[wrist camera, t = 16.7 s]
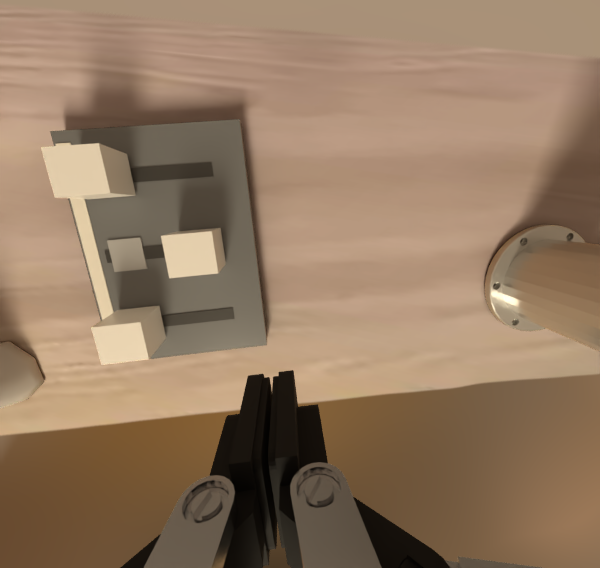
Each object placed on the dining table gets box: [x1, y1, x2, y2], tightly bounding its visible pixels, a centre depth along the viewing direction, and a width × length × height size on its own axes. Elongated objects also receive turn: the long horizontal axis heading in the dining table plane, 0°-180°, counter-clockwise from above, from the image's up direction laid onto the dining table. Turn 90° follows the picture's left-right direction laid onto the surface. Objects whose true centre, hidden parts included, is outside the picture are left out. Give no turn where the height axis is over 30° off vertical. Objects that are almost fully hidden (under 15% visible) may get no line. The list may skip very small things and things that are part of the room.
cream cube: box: [91, 306, 166, 365], centre depth 28 cm, size 4×4×4 cm
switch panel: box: [50, 119, 267, 359], centre depth 30 cm, size 16×22×2 cm
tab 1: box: [41, 143, 136, 199], centre depth 24 cm, size 4×4×4 cm
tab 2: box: [161, 228, 226, 278], centre depth 27 cm, size 4×4×4 cm
